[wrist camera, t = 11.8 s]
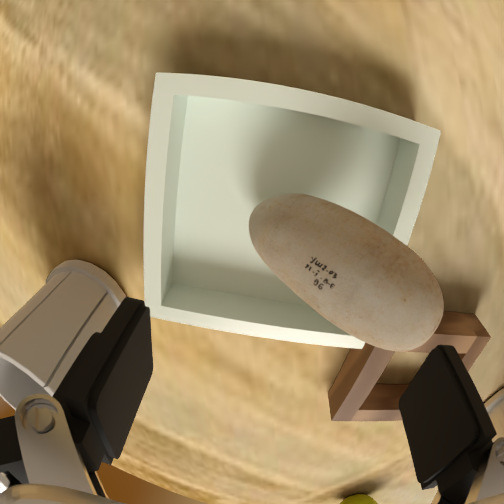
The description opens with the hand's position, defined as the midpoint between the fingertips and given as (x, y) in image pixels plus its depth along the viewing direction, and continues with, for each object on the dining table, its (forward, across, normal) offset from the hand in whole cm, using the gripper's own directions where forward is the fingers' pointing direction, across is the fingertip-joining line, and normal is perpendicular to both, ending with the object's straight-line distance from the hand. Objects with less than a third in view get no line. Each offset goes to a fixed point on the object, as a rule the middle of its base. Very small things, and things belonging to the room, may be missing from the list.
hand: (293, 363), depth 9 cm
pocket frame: (+14, -14, +12) cm, 23 cm away
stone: (+13, 0, 0) cm, 13 cm away
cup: (+14, +15, +10) cm, 23 cm away
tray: (+13, +1, 0) cm, 13 cm away
